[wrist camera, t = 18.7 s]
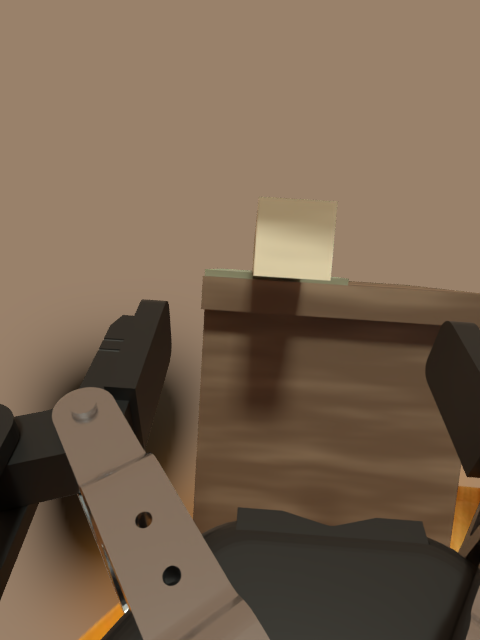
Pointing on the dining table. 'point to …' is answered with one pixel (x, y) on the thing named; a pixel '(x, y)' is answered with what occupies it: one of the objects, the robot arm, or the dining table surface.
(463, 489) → the dining table surface
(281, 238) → the pale wooden plank
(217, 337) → the walnut stand
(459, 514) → the dining table surface
